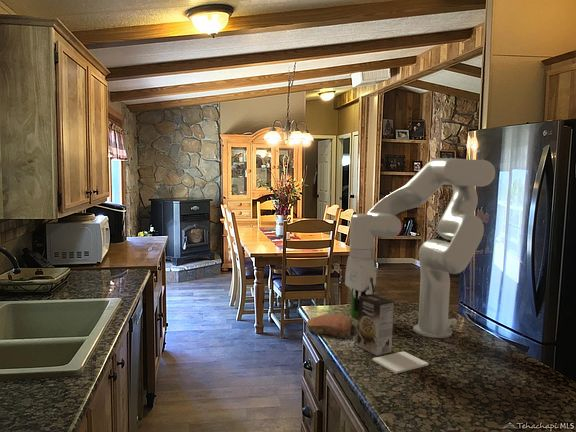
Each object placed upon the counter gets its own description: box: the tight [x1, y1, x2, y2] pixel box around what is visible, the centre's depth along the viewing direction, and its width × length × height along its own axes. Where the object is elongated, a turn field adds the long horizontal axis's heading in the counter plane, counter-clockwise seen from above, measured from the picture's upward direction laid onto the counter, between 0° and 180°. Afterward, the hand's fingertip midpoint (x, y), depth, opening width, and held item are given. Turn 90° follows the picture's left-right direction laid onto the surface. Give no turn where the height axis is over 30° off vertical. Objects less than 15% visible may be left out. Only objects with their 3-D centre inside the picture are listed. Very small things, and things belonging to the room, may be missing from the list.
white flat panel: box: [372, 350, 429, 374], centre depth 138 cm, size 12×10×1 cm
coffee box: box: [356, 293, 395, 357], centre depth 148 cm, size 9×6×16 cm
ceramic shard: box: [306, 313, 353, 339], centre depth 166 cm, size 15×6×15 cm
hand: (359, 310), depth 154 cm, fingers closed
